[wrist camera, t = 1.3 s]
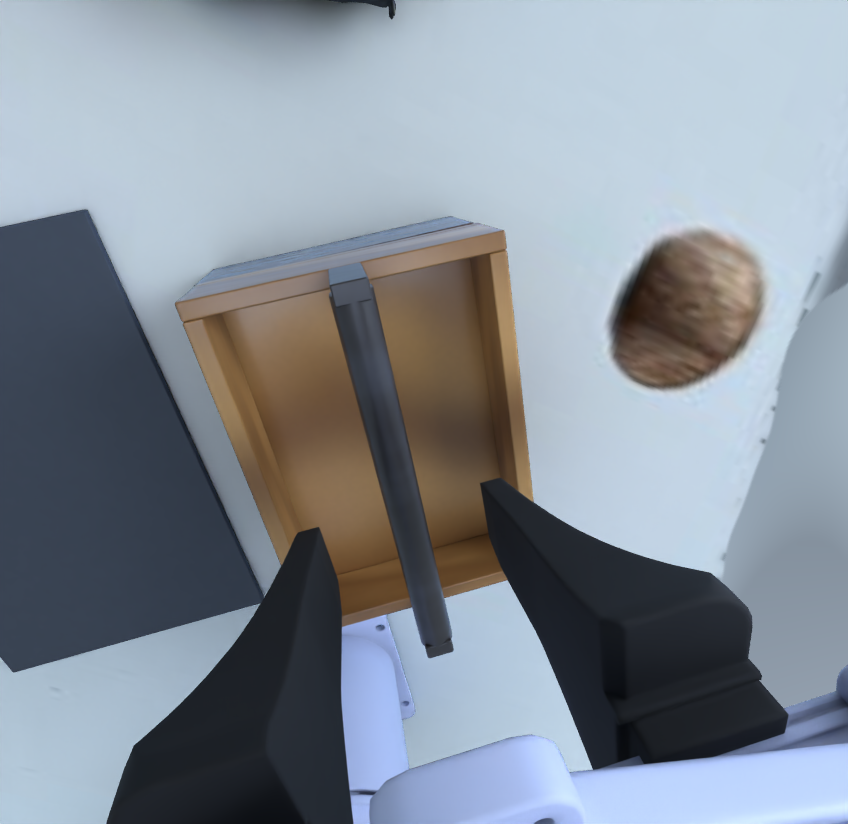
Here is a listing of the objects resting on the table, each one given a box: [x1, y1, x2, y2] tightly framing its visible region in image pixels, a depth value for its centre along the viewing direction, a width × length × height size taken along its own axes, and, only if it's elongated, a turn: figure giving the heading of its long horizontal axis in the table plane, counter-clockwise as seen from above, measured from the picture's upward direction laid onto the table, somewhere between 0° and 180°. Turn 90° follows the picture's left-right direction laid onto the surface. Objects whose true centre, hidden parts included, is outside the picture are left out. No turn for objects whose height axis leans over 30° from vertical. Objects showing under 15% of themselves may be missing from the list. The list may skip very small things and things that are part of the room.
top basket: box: [175, 223, 534, 658], centre depth 18 cm, size 14×10×6 cm
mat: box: [0, 210, 264, 672], centre depth 22 cm, size 20×13×1 cm, turn 11°
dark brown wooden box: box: [194, 216, 474, 286], centre depth 22 cm, size 14×10×4 cm
